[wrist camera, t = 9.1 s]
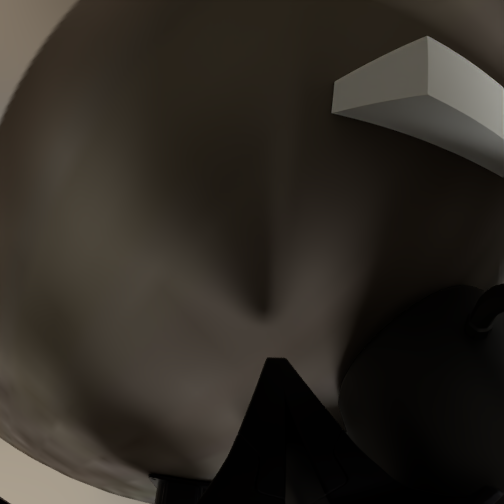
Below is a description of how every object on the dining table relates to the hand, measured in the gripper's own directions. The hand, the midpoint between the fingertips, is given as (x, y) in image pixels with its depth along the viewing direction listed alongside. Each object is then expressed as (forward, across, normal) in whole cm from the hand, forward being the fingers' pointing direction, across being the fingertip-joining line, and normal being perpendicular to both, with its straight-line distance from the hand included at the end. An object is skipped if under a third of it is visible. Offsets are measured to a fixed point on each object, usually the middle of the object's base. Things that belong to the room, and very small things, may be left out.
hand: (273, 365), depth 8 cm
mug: (+1, -8, +1) cm, 8 cm away
